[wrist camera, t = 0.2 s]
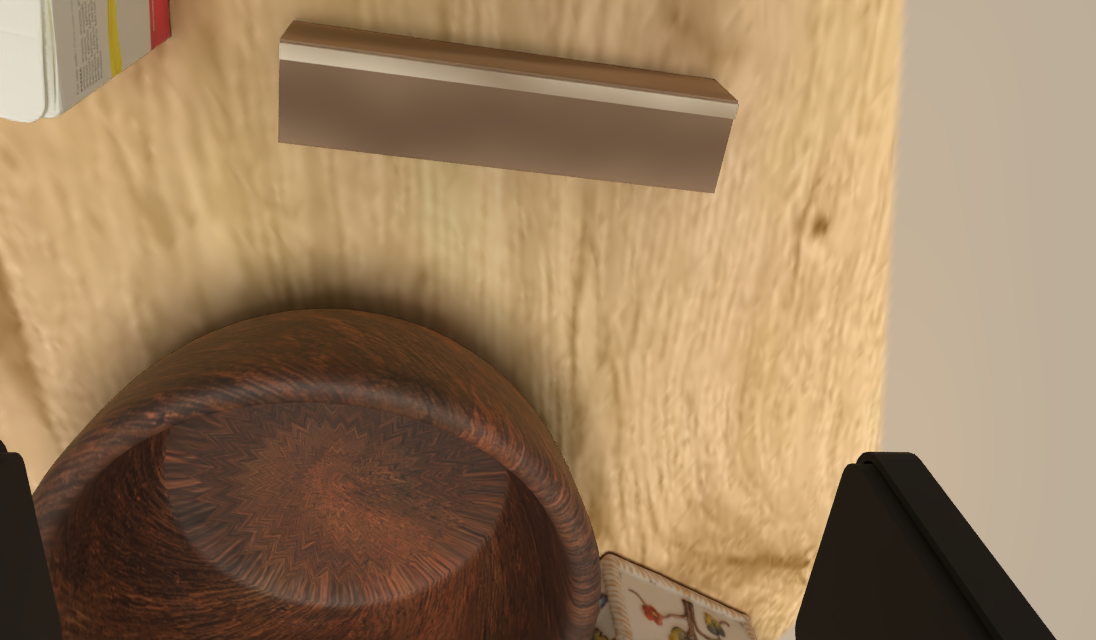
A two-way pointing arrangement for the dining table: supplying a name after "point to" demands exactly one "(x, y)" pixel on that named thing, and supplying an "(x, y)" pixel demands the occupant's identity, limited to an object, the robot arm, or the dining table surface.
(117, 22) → the ink box
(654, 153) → the board
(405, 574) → the wooden bowl
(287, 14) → the dining table surface
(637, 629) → the decorative jar
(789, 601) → the dining table surface
